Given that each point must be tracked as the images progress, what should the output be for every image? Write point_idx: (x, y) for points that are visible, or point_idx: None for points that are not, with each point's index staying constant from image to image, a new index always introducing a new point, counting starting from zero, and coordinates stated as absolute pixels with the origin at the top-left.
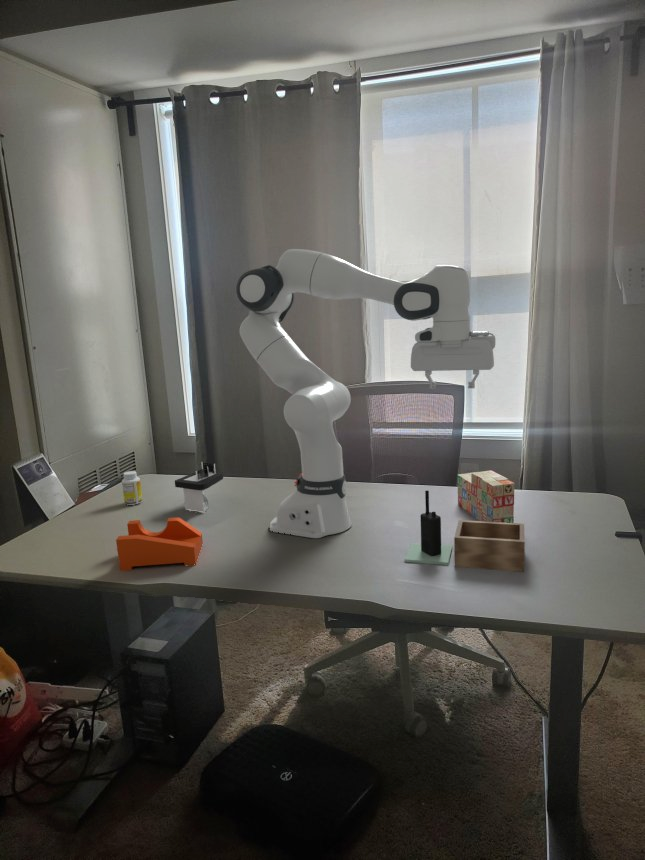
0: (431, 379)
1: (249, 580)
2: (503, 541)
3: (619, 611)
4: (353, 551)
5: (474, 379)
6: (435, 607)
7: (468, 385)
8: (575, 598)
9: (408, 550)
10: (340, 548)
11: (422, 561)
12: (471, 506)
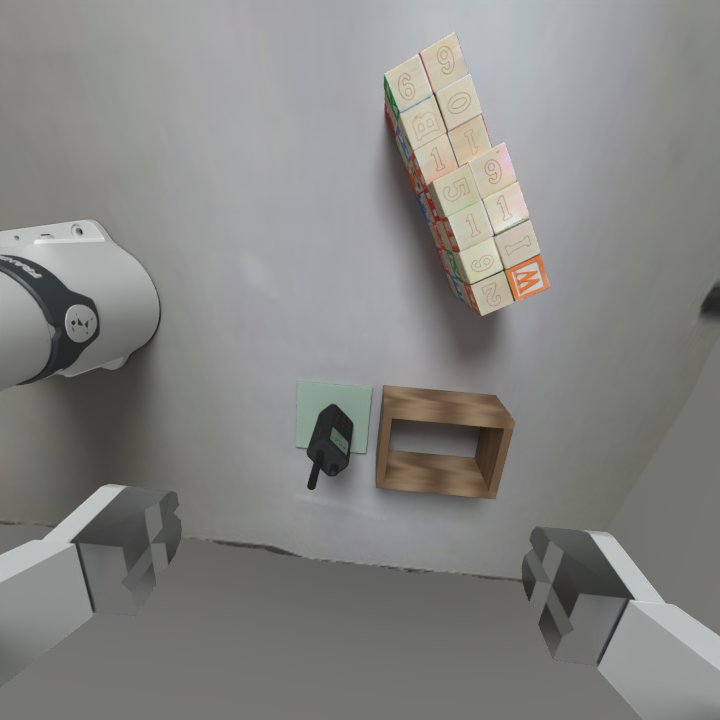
0: (48, 612)
1: None
2: (459, 494)
3: None
4: (205, 413)
5: (653, 705)
6: (353, 554)
7: (537, 584)
8: (530, 527)
9: (297, 414)
10: (178, 403)
11: None
12: (418, 193)
